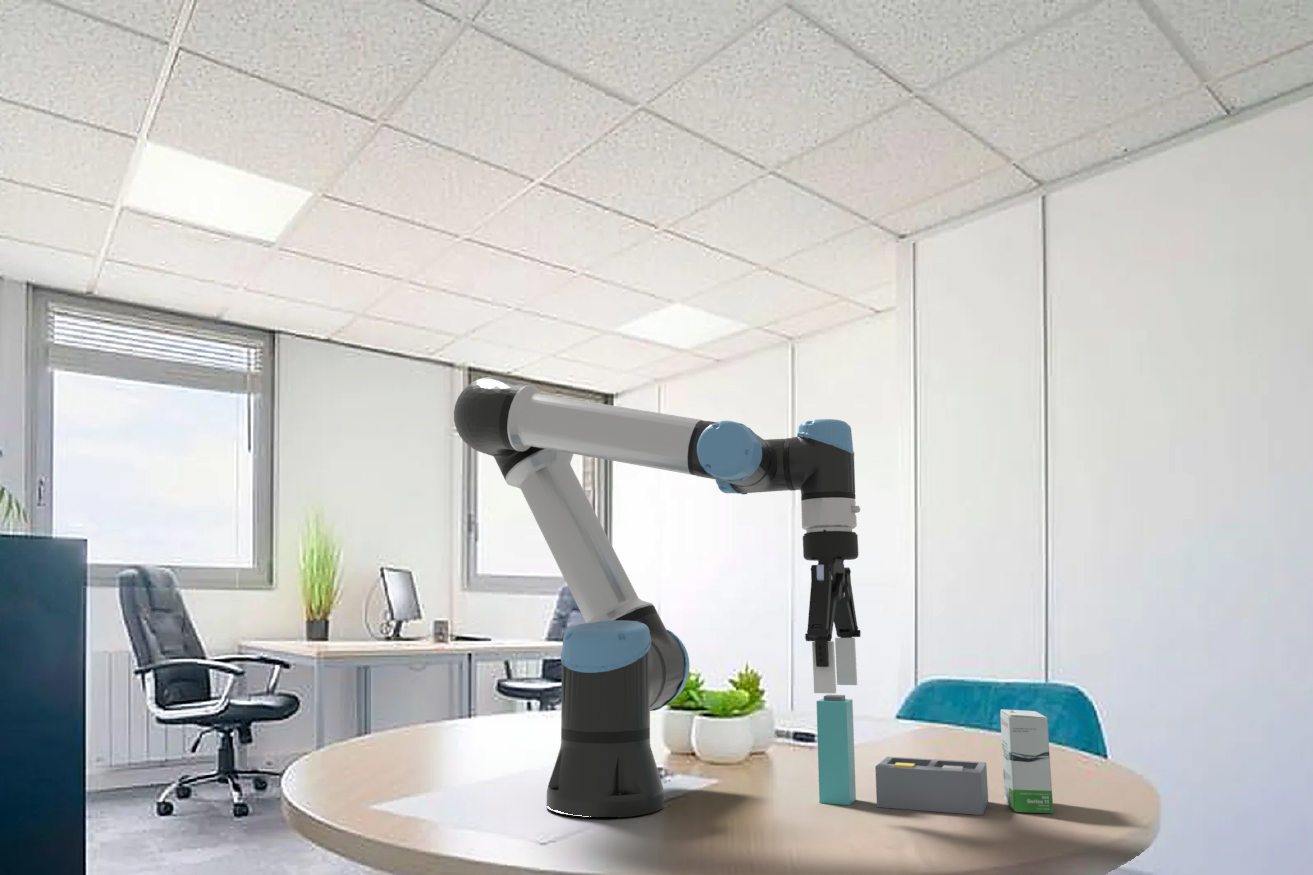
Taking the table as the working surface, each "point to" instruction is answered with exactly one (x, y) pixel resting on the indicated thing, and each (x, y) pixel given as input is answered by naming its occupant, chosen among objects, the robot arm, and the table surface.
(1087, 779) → the table surface
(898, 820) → the table surface
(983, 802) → the socket block
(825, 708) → the plug
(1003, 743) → the ink box
